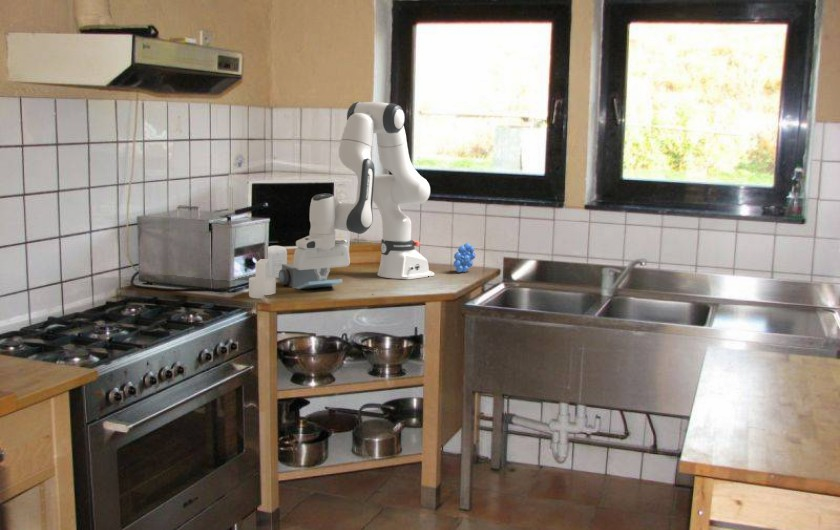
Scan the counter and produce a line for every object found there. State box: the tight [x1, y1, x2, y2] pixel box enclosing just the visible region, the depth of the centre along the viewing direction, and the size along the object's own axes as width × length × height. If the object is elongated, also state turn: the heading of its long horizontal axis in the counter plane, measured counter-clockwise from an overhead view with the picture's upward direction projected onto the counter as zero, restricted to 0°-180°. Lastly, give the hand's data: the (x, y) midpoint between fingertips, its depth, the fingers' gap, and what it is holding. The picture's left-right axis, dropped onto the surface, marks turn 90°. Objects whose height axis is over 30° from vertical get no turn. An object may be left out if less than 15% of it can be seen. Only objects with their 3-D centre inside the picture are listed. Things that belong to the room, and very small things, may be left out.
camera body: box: [278, 263, 329, 288], centre depth 331 cm, size 16×9×9 cm, turn 123°
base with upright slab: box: [248, 258, 277, 299], centre depth 313 cm, size 9×9×12 cm
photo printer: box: [267, 245, 288, 279], centre depth 346 cm, size 10×4×12 cm, turn 134°
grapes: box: [453, 242, 476, 273], centre depth 371 cm, size 12×7×12 cm, turn 133°
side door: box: [295, 278, 343, 290], centre depth 323 cm, size 13×1×12 cm
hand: (322, 280), depth 320 cm, fingers closed, pressing on side door
